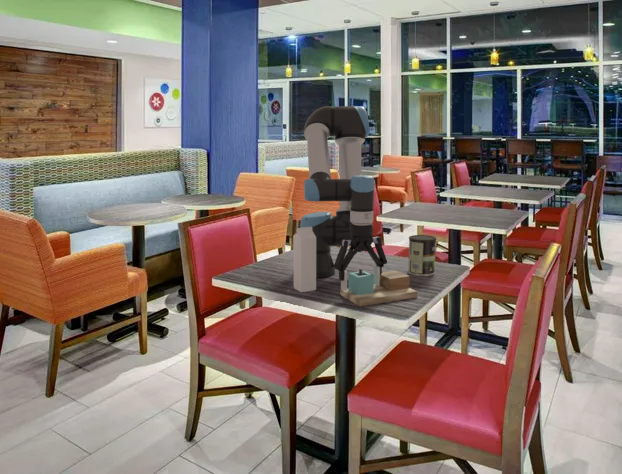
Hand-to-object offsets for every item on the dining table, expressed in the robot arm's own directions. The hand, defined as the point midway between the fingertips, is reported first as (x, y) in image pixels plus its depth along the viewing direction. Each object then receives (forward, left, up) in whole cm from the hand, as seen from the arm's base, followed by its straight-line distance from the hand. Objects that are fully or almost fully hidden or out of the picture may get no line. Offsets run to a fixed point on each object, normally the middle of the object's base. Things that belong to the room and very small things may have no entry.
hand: (360, 287), depth 182 cm
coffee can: (-16, +37, -4) cm, 40 cm away
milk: (-16, -13, -4) cm, 21 cm away
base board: (+2, +6, -3) cm, 7 cm away
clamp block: (0, +13, -1) cm, 13 cm away
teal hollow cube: (0, 0, -1) cm, 1 cm away
